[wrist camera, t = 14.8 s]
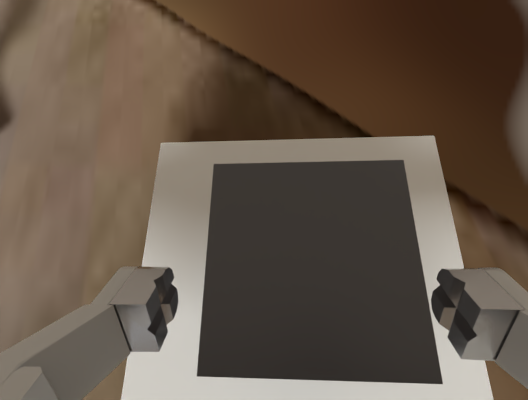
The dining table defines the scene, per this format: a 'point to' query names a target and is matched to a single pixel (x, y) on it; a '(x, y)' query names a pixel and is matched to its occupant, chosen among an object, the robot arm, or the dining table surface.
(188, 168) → the socket block
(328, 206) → the plug
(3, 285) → the dining table surface
